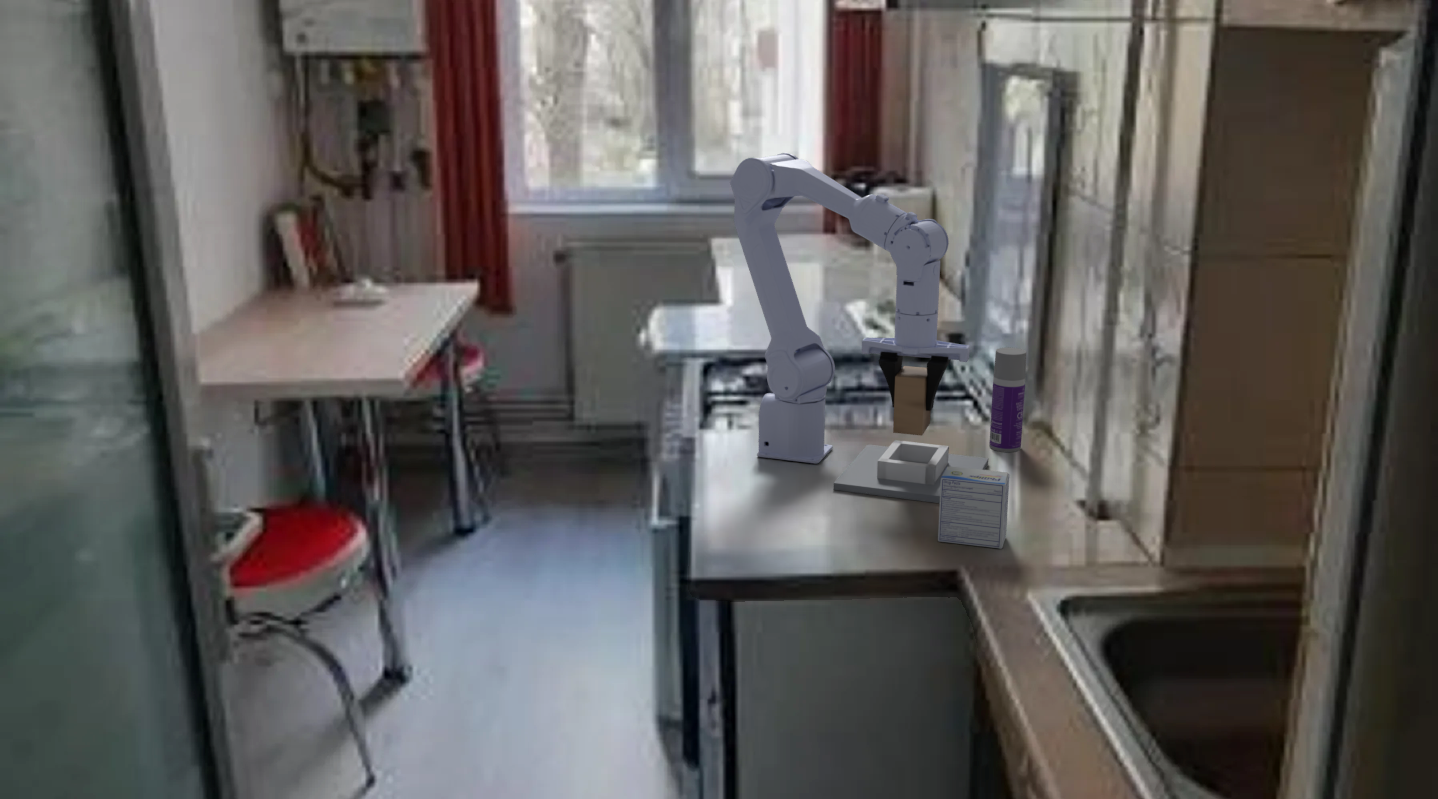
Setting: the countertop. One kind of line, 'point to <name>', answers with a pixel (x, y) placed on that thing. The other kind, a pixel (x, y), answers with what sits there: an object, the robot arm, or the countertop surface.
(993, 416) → the container
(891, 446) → the socket plate
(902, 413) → the walnut peg
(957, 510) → the medicine box
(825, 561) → the countertop surface
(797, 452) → the robot arm
